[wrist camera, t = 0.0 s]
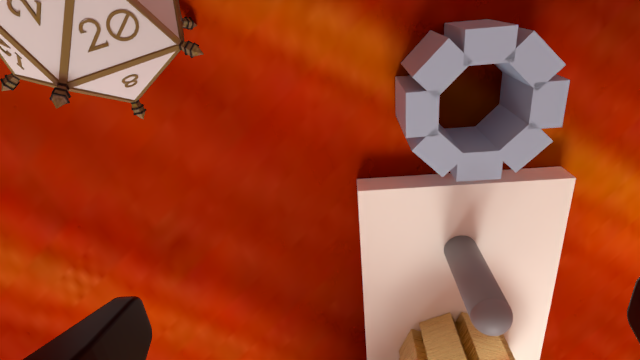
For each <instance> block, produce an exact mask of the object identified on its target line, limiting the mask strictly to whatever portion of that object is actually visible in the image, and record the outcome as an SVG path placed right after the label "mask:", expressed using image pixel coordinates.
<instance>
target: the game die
mask: <svg viewBox="0 0 640 360" xmlns="http://www.w3.org/2000/svg"><path fill="white" fill-rule="evenodd" d="M195 26H197V25H196V24H195V23H194V21H193V20H192V19H191V17H189V18H187V17H184V18H182V16H181V11H180V5H179V0H0V57H1V59H2V60H3V61H4V63H5V64H6V65H7V67H8V68H9V69H10V71H11V72H12V73H11V74H10V75H5V78H4V79H0V80H1V82H2V91H6V90H14V89H15V88H16V86H17V85H18V84H19V83H20V82H19V80H20V79H22V80H26V81H30V82H34V83H38V84H42V85H46V86H50V87H54V90H53V91H52V95H51V97H50V100H52V102H53V103H54V105H55V107H56V109H57V108H59V107H60V106H62V105H64V104H67V103H70V102H69V100H68V98H70V97H71V96H70V94H69V92H68V91H72V92H77V93H82V94H87V95H93V96H98V97H103V98H108V99H114V100H119V101H124V102H129V103H131V104H132V110H133V111H134V115H137V116H138V117H140V118H142V119H144V114H145V111H146V109H144V107H143V106H144V105H143V104H141V103H140V102H139V99H140V97H141V96H142V95H143V94H144V93H145V92H146V90H147V89H148V88H149V87H150V86H151V85H152V83H153V82H154V81H155V80H156V79H157V77H158V76H159V75H160V74H161V73H162V72H163V70H164V69H165V68H166V67H167V66H168V65H169V63H170V62H171V61H172V60H173V59H174V57H175V56H176V55H177V54H178V53H179V52H180V50H182V51H184V52H185V55H190V57H191V58H193V57H194V56H198V55H203V53H202V51H201V50H200V48H199V45H197V44H196V43H192V42H190V41H188V42H184V33H183V28H187V29H191V30H192V29H193V28H194V27H195Z"/></svg>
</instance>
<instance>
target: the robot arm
mask: <svg viewBox="0 0 640 360" xmlns="http://www.w3.org/2000/svg"><path fill="white" fill-rule="evenodd" d="M627 318H628V322H629V324H630V327H631V329H632V330H633V332H634V334H635V336H636V338H637V339H638V341H639V343H640V277H639V278H638V279H637V281H636V284H635V287H634V290H633V293H632V297H631V300H630V303H629V306H628V310H627ZM151 339H152V328H151V325H150V322H149V319H148V316H147V314H146V311H145V308H144V305H143V303H142V301H141V299H140V298H138V297H135V296H131V297H117V298H115V299H113V300H112V301H110V302H109V303H107V304H106V305H104V306H103V307H101V308H100V309H98V310H97V311H95V312H94V313H92V314H91V315H89V316H88V317H86V318H85V319H83V320H82V321H80V322H79V323H77V324H75V325H74V326H72V327H71V328H69V329H68V330H66V331H65V332H63V333H62V334H60V335H59V336H57V337H56V338H54V339H53V340H51V341H50V342H48V343H47V344H45V345H44V346H42V347H41V348H39V349H38V350H36V351H35V352H33V353H32V354H30V355H29V356H27V357H26V358H24V359H23V360H146V356H147V353H148V350H149V347H150V343H151Z"/></svg>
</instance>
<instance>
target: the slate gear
mask: <svg viewBox="0 0 640 360" xmlns="http://www.w3.org/2000/svg"><path fill="white" fill-rule="evenodd" d="M401 64H402V66H403V67H404V68H405V69H406V70H407V72H408V73H409V74H410V75H408V76H395V101H396V117H397V120H398V122H399V124H400V126H401V128H402V131H403V133H404V135H405V137H406V139H407V142H408V144H409V146H410V148H411V151H412V152H414V153H415V154H416V155H417V156H418V157H419V158H421V159H422V160H423V161H424V162H425V163H426V164H428V165H429V166H430V167H431V168H432V169H433V170H435V171H436V172H437V173H438V174H439V175H440V176H442V177H444V176H445V175H446V174H447V173H448V172H449V171H450V172H451V174H452V176H453V177H454V179H455V180H456V182H460V181H477V180H493V179H501V175H502V166H503V162H505V163H506V164H507V165H508V166H509V167H510V168H511V169H512V170H513V171H514V172H515V173H516V172H518V171H519V170H520V169H521V168H522V167H524V166H525V165H526V164H527V163H528V162H529V161H531V160H532V159H533V158H534V157H535V156H537V155H538V154H539V153H540V152H541V151H542V150H544V149H545V148H546V147H547V146H548V145H550V144H551V143H552V142H553V140H551V139H550V138H549V137H548V136H547V135H546V134H545V133H544V132H543V131H542V130H541V129H542V128H556V127H562V124H563V118H564V112H565V107H566V101H567V95H568V89H569V84H570V80H569V79H566V78H564V77H561V76H559V75H556V73H558V72H559V71H560V70H561V69H562V68H563V67H564V66H565V65H566V64H565V63H564V62H563V61H562V60H561V59H560V58H559V57H558V56H557V54H556V53H555V52H554V51H553V50H552V49H551V48H550V47H549V46H548V45H547V44H546V43H545V42H544V40H543V39H542V38H541V37H540V36H539V35H538V34H537V33H536V32H535V31H534V30H529V29H525V28H520V27H518V25H516V24H511V23H506V22H501V21H496V20H491V19H482V20H471V21H460V22H449V23H444V36H443V35H441V34H438V33H436V32H434V31H432V30H430V31H429V32H428V33H427V34H426V36H425V37H424V38H423V39H422V40H421V41H420V42H419V43H418V44H417V46H416V47H415V48H414V49H413V50H412V51H411V52H410V53H409V54H408V55H407V57H406V58H405V59H404V60H403V61H402V62H401ZM485 64H495V65H496V66H497V67H498V68H499V69H500V70H501V71H502V81H501V91H500V101H499V104H498V105H497V106H496V107H495V108H494V109H493V110H492V111H491V112H490V113H489V114H488V115H487V116H486V117H484V118H483V119H482V120H481V121H480V122H479V123H478V124H477V125H476V126H473V127H459V128H445V129H444V128H443V127H442V126H441V125H440V124H439V99H440V94H441V93H442V92H443V91H444V90H445V89H446V88H447V87H448V86H449V85H450V84H451V83H452V82H453V81H454V80H455V79H456V78H457V77H458V76H459V75H460V74H461V73H462V72H463V71H464V70H465V69H466V68H467V67H468V66H473V65H485Z"/></svg>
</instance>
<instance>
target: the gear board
mask: <svg viewBox="0 0 640 360" xmlns="http://www.w3.org/2000/svg"><path fill="white" fill-rule="evenodd" d="M575 180H576V178H575V177H574V176H573V175H572V174H570V173H569V172H568V171H567V170H565V169H564V168H563V167H561V166H556V167H540V168H524V169H520V170H519V171H518V172H516V173H515V172H514V171H513V170H512V169H509V170H502V175H501V179H493V180H477V181H460V182H456V180H455V179H454V177H453V176H452V174H451V173H447V174H446V175H445V176H444V177H442V176H440V175H439V174H429V175H413V176H397V177H381V178H365V179H357V195H358V213H359V231H360V249H361V266H362V284H363V302H364V320H365V337H366V355H367V360H399V358H400V354H399V350H400V348H401V346H402V344H403V342H404V341H405V339H406V337H407V335H408V334H409V332H410V330H411V329H414V330H417V331H421V329H420V325H419V323H420V322H423V321H426V320H429V319H432V318H435V317H438V316H441V315H443V314H446V313H449V312H450V313H451V315H452V317H453V319H454V321H455V322H456V320H457V318H458V317H459V315H460V314H461V312H464V313H468V315H469V317H470V320H471V322H472V324H473V325H474V327H475V328H476V329H477V330H478V331H480V332H481V333H483V334H485V335H489V336H499V335H502V334H503V335H504V337H505V339H506V341H507V343H508V345H509V348H510V350H511V352H512V354H513V356H514V358H515V360H540V355H541V350H542V345H543V340H544V335H545V330H546V325H547V320H548V315H549V310H550V305H551V300H552V295H553V290H554V285H555V280H556V275H557V270H558V265H559V260H560V255H561V250H562V245H563V240H564V235H565V230H566V225H567V220H568V215H569V210H570V205H571V200H572V195H573V190H574V185H575Z"/></svg>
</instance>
